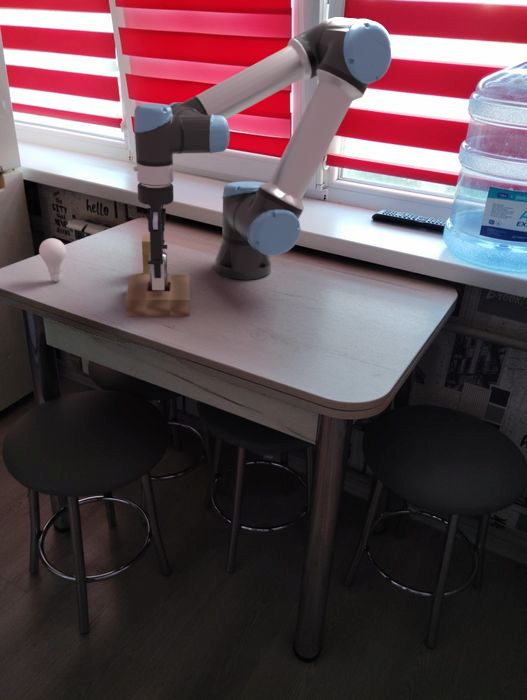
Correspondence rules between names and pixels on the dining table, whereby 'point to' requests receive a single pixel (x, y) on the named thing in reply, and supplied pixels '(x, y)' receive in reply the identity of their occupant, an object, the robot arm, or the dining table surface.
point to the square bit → (146, 253)
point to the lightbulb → (53, 257)
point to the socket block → (158, 297)
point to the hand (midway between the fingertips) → (158, 282)
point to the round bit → (164, 273)
